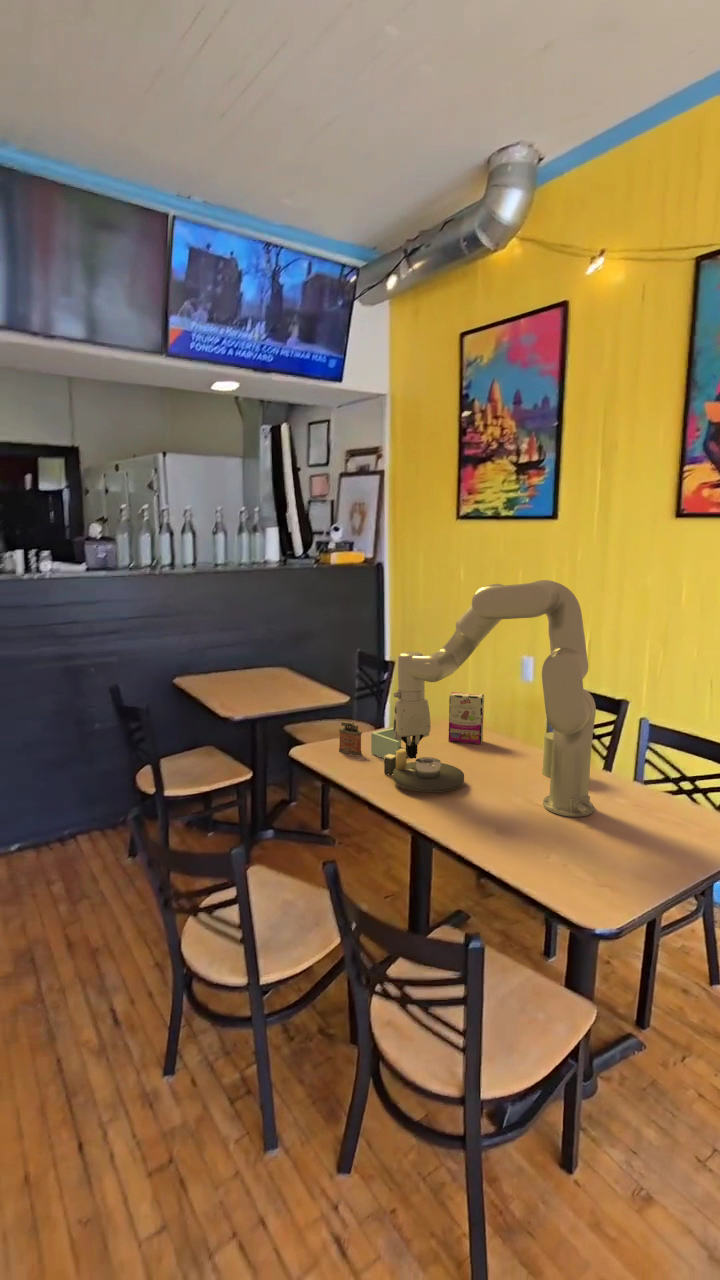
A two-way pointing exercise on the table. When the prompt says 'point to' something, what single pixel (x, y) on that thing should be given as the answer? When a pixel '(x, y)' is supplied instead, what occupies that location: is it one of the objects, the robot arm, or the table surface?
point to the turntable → (407, 779)
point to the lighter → (350, 739)
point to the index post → (389, 764)
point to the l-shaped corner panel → (384, 743)
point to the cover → (427, 768)
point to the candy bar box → (466, 718)
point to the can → (547, 754)
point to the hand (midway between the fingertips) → (411, 757)
